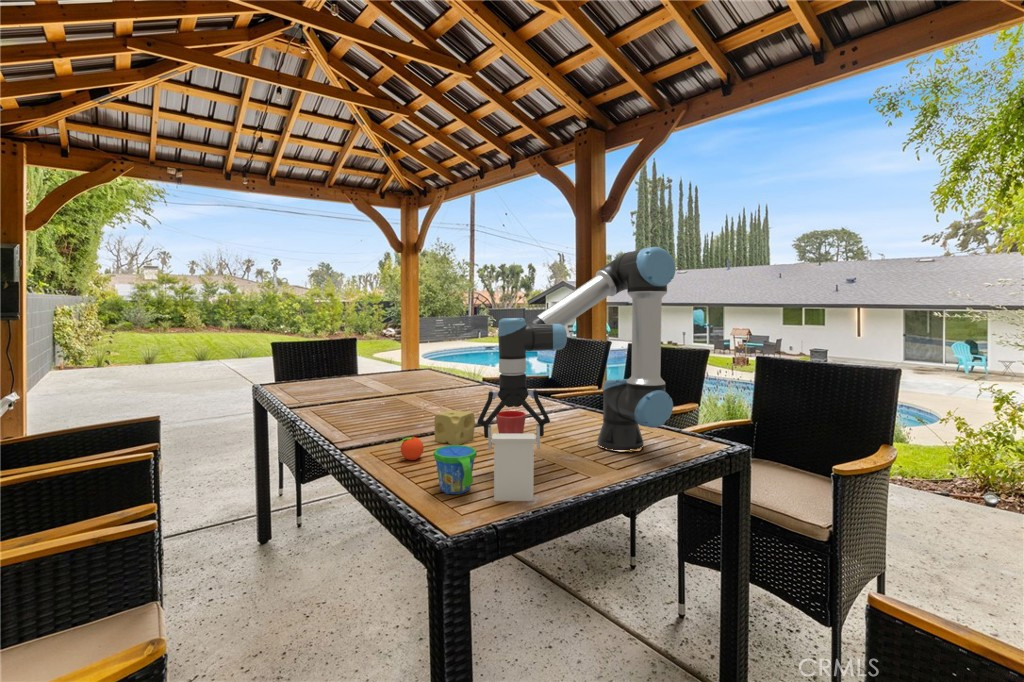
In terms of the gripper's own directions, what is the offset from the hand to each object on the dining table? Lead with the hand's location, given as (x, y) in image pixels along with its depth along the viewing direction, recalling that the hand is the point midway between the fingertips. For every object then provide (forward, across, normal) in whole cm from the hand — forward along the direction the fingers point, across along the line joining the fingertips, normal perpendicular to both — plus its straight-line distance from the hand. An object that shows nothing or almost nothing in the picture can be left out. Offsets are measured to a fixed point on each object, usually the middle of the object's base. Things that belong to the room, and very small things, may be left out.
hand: (514, 448), depth 131 cm
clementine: (+7, +32, -12) cm, 34 cm away
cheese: (+7, +21, -34) cm, 40 cm away
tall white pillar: (+7, +1, +14) cm, 16 cm away
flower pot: (+7, +1, -34) cm, 35 cm away
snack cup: (+7, +15, +13) cm, 21 cm away
